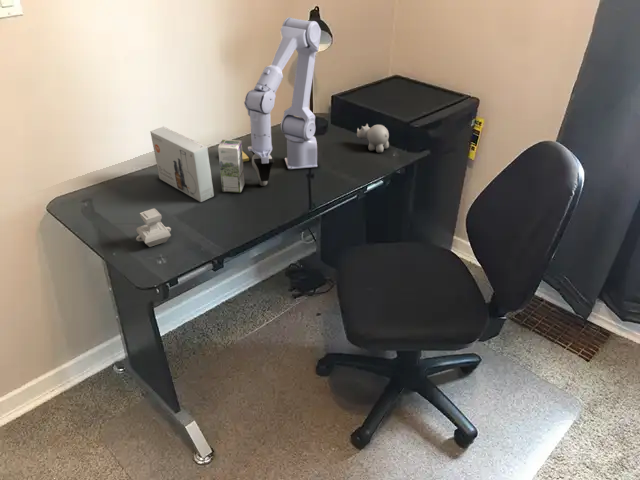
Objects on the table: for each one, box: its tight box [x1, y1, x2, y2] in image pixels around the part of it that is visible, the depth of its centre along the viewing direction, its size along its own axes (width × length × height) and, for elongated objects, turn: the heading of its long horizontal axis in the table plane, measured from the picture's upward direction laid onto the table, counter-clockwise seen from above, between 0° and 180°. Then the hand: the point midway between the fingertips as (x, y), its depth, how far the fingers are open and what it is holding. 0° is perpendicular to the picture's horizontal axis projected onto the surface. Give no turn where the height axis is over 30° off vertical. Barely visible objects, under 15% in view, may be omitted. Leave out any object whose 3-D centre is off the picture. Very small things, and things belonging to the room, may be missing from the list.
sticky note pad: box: [242, 150, 250, 163], centre depth 185 cm, size 8×8×1 cm
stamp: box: [135, 207, 172, 248], centre depth 141 cm, size 9×7×8 cm
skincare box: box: [149, 126, 215, 203], centre depth 164 cm, size 21×5×16 cm, turn 47°
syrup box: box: [217, 139, 246, 194], centre depth 164 cm, size 6×6×14 cm
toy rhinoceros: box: [356, 123, 390, 154], centre depth 192 cm, size 7×12×8 cm, turn 52°
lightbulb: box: [251, 154, 273, 187], centre depth 167 cm, size 6×6×11 cm
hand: (263, 175), depth 168 cm, fingers open, 6 cm apart
